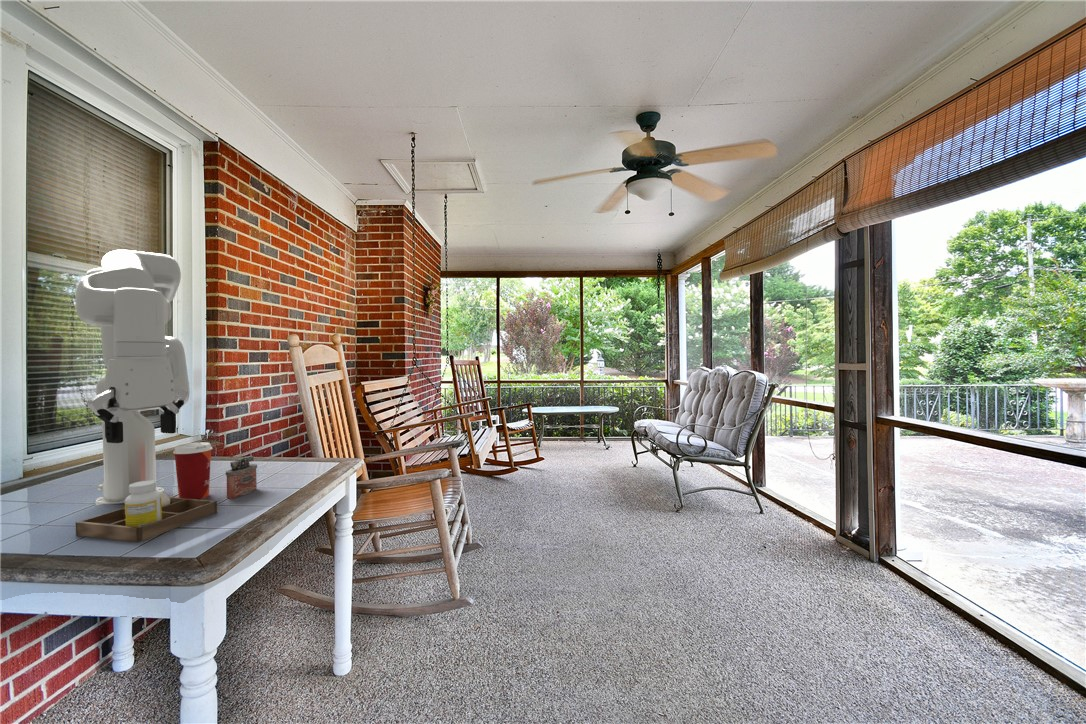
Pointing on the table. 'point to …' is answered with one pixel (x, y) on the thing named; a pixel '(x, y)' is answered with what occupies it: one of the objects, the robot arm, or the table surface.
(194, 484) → the paper cup
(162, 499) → the white ball
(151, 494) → the supplement bottle
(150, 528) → the wooden compartment tray
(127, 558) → the table surface
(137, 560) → the table surface
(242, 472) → the lighter
